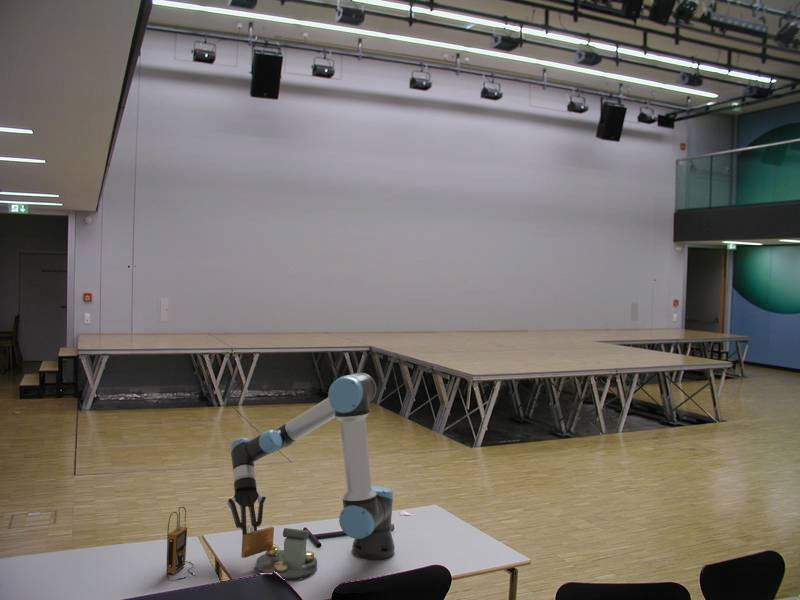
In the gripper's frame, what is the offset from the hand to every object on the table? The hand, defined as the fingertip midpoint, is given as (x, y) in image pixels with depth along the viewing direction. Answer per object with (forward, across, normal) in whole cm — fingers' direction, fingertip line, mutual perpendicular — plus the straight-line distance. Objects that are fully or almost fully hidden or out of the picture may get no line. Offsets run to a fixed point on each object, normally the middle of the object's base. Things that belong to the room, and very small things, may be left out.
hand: (251, 546), depth 233 cm
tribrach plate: (+8, -11, -1) cm, 14 cm away
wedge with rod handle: (+9, -13, +3) cm, 16 cm away
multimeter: (+5, +20, -5) cm, 21 cm away
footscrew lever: (+4, -3, -2) cm, 5 cm away
